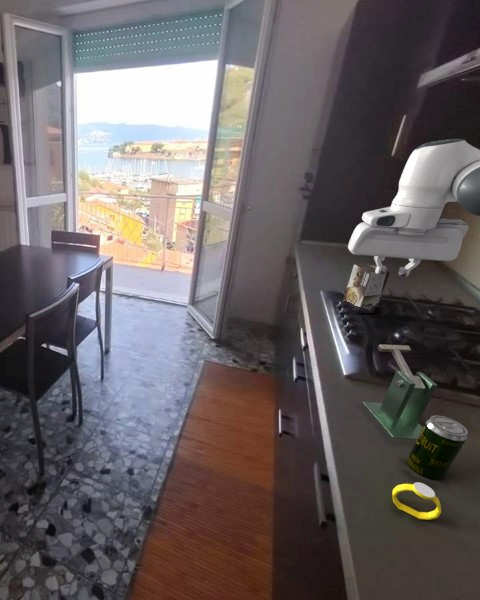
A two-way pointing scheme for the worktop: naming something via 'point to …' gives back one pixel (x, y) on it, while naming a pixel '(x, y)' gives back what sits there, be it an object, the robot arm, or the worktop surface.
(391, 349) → the lever
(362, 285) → the coffee box
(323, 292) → the worktop surface
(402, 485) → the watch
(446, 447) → the green drink can
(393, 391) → the bracket
